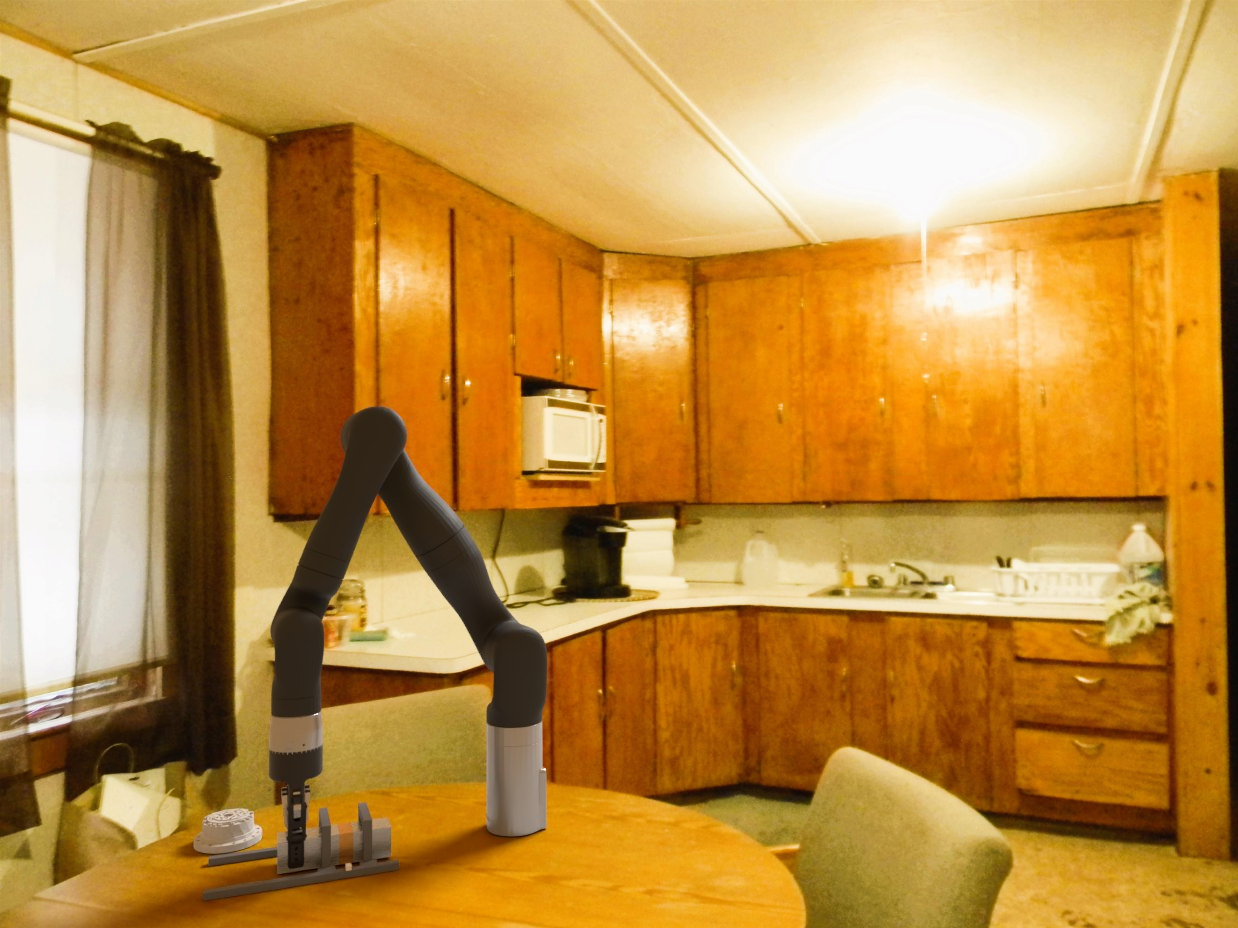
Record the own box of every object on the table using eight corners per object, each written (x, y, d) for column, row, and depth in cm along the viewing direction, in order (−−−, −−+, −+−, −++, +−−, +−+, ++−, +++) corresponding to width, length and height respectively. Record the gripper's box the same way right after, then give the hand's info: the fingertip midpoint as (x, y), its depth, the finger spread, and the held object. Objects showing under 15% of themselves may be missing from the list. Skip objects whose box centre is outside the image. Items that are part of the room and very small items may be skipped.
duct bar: (387, 846, 136) (387, 817, 136) (391, 856, 132) (391, 826, 132) (276, 862, 130) (277, 832, 130) (277, 874, 126) (277, 843, 126)
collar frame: (387, 837, 141) (387, 794, 141) (399, 869, 128) (399, 822, 128) (208, 863, 131) (209, 816, 131) (202, 900, 118) (203, 849, 119)
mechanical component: (179, 853, 136) (236, 857, 134) (179, 824, 136) (236, 828, 134) (220, 829, 145) (274, 833, 143) (220, 802, 146) (274, 806, 144)
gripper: (325, 752, 125) (325, 875, 124) (320, 729, 138) (319, 840, 137) (269, 758, 122) (268, 884, 121) (268, 734, 135) (267, 847, 134)
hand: (295, 860), depth 129 cm, fingers closed on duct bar, 4 cm apart
